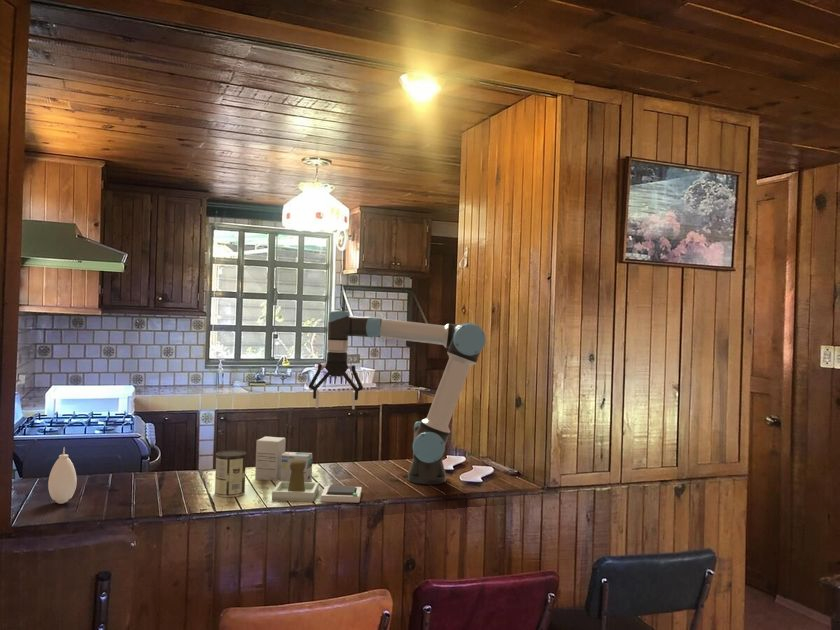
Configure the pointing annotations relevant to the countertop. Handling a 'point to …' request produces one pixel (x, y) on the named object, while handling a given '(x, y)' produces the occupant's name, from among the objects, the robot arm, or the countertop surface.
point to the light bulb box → (295, 456)
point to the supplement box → (269, 457)
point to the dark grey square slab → (341, 490)
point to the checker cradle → (341, 496)
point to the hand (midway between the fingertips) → (335, 408)
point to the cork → (297, 476)
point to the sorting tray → (295, 492)
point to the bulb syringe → (62, 479)
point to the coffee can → (230, 473)
